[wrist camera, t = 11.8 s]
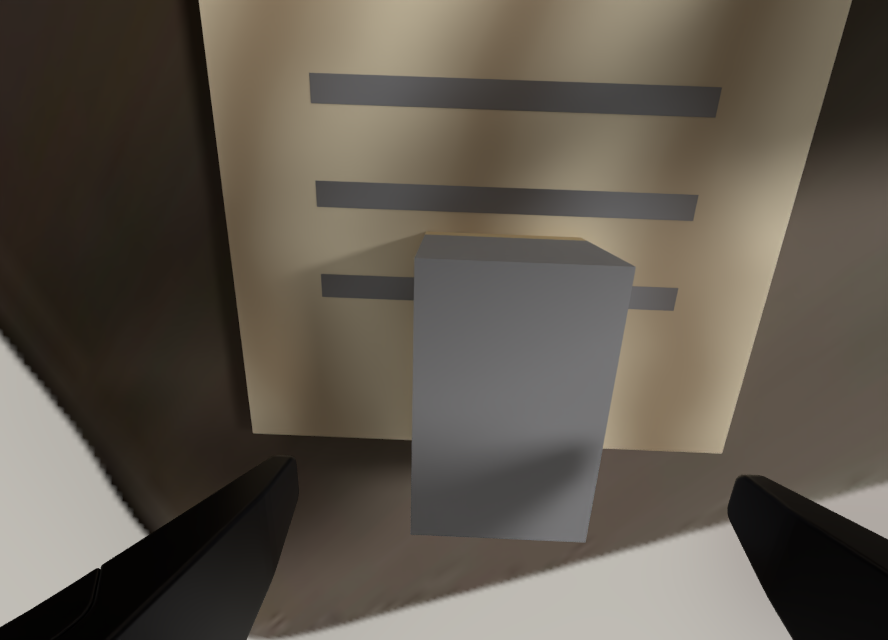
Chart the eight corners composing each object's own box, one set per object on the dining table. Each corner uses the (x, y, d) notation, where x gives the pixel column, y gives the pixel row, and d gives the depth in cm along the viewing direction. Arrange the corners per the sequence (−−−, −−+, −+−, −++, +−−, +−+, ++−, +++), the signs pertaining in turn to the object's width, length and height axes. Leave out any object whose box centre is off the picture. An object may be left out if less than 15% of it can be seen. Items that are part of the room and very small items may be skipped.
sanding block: (580, 237, 14) (636, 266, 10) (551, 447, 17) (585, 542, 12) (426, 231, 14) (414, 258, 10) (421, 441, 17) (410, 534, 12)
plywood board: (912, -340, 11) (968, -403, 9) (704, 435, 18) (721, 453, 17) (178, -360, 11) (145, -424, 10) (265, 416, 18) (252, 433, 17)
